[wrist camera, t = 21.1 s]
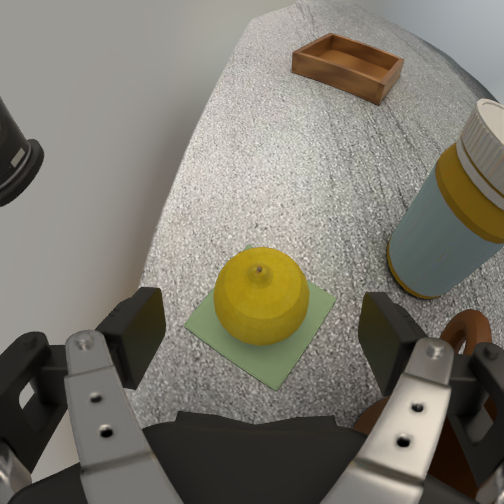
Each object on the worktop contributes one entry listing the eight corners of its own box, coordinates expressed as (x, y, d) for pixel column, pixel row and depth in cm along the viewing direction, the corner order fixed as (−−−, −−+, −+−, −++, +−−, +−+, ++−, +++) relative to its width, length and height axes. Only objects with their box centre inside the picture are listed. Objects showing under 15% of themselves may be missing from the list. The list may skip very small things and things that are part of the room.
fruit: (293, 360, 19) (313, 338, 12) (213, 345, 20) (186, 313, 13) (305, 286, 22) (326, 228, 14) (232, 273, 22) (218, 210, 15)
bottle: (436, 226, 24) (517, 106, 11) (459, 294, 21) (576, 192, 8) (374, 231, 24) (447, 83, 11) (395, 307, 21) (522, 186, 8)
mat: (185, 327, 21) (183, 325, 20) (248, 247, 24) (248, 244, 23) (276, 391, 19) (276, 391, 18) (335, 300, 21) (337, 298, 21)
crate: (291, 72, 37) (292, 52, 34) (328, 48, 42) (330, 32, 39) (378, 105, 33) (384, 85, 30) (399, 76, 38) (404, 59, 35)
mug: (372, 328, 20) (435, 279, 12) (451, 346, 19) (530, 308, 11) (329, 482, 15) (374, 533, 7) (418, 488, 14) (492, 515, 5)
